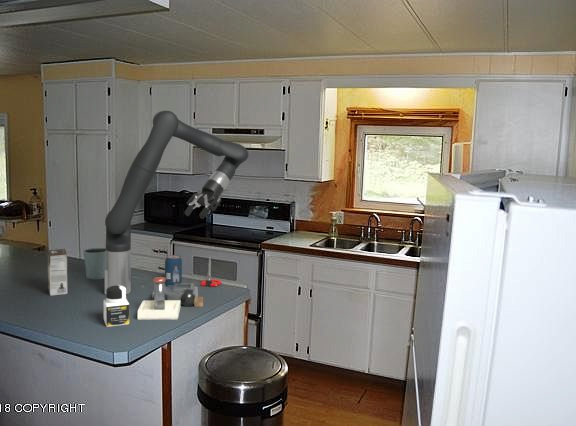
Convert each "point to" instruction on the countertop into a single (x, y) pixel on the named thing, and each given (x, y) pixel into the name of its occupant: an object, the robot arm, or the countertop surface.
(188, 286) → the trolley
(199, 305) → the block
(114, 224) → the robot arm
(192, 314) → the countertop surface
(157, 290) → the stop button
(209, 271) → the tow hook
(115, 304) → the medicine bottle
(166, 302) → the tray
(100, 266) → the teal cup
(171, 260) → the soda can
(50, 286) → the coffee box
